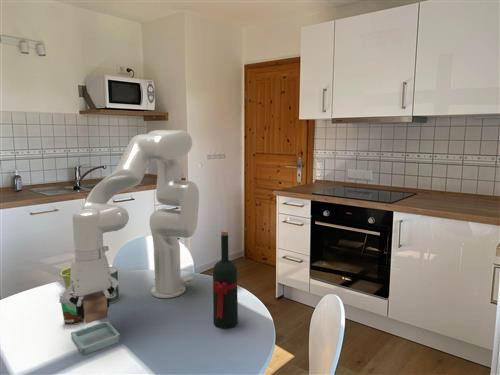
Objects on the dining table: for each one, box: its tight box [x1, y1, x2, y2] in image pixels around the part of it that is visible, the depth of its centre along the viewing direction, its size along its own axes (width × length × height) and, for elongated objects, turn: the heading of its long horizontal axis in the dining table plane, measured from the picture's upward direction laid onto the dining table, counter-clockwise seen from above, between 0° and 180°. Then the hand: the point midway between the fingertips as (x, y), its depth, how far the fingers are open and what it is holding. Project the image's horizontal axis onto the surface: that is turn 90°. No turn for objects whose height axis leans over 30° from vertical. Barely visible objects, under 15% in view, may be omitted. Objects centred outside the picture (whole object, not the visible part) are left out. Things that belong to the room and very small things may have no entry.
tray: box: [70, 320, 122, 356], centre depth 111 cm, size 11×11×2 cm
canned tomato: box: [100, 266, 120, 305], centre depth 136 cm, size 8×8×11 cm
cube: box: [82, 292, 109, 325], centre depth 109 cm, size 6×6×6 cm
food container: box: [58, 292, 84, 325], centre depth 123 cm, size 12×6×10 cm, turn 168°
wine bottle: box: [212, 229, 239, 330], centre depth 118 cm, size 8×10×30 cm
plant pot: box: [60, 267, 71, 290], centre depth 142 cm, size 9×9×9 cm
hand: (93, 313), depth 110 cm, fingers closed on cube, 6 cm apart
